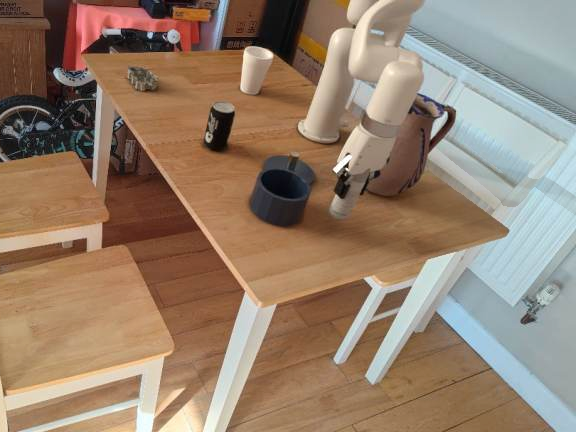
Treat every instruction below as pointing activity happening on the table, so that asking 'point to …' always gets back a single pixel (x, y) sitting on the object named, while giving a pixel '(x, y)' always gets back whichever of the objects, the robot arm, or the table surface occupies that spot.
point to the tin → (279, 196)
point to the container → (348, 197)
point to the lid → (291, 165)
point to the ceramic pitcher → (412, 147)
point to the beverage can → (219, 125)
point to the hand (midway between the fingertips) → (348, 192)
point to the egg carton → (142, 78)
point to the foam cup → (254, 69)
